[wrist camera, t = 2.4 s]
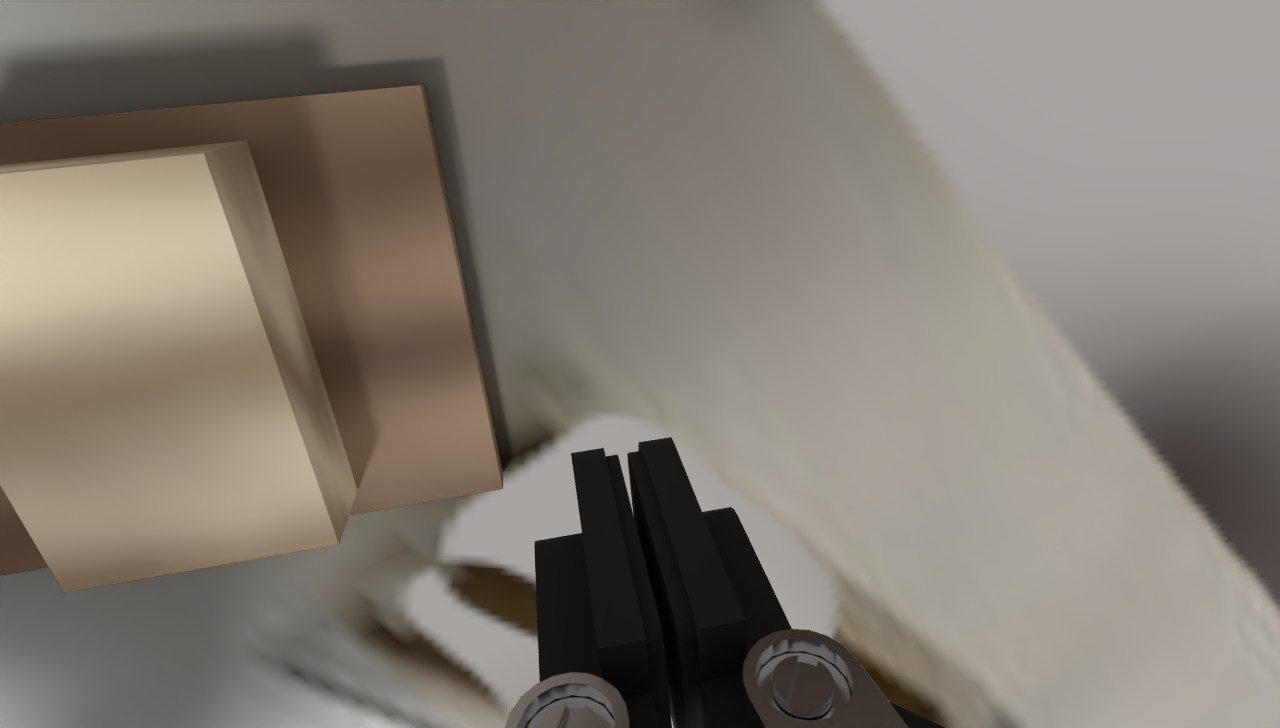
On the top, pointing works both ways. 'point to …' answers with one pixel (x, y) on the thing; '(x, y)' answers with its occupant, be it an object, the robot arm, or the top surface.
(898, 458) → the top surface
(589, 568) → the robot arm
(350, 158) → the board
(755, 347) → the top surface
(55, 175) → the cream rectangular slab
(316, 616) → the top surface
